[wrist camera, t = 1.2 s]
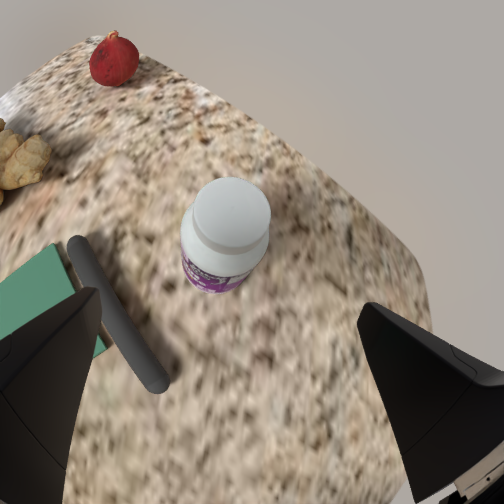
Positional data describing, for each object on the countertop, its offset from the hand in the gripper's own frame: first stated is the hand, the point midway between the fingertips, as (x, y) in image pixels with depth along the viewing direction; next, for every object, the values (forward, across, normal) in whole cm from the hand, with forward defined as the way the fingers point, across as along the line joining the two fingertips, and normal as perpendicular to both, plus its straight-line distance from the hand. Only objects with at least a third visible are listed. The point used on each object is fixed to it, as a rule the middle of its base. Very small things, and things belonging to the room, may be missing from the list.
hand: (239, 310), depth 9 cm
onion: (+28, +14, -9) cm, 33 cm away
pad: (+9, +15, +10) cm, 20 cm away
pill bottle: (+14, 0, +6) cm, 15 cm away
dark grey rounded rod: (+10, +8, +9) cm, 15 cm away
